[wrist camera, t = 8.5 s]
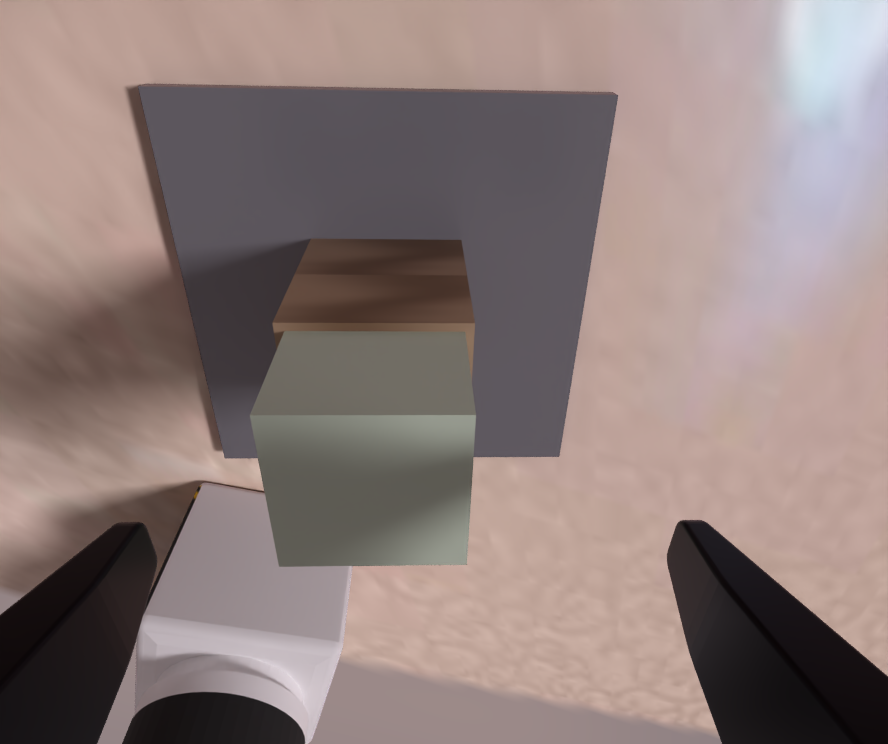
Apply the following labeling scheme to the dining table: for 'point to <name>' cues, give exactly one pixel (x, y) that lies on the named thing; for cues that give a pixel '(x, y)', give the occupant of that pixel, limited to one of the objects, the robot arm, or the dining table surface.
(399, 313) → the tower top
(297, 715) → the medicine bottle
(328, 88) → the plate
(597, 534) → the dining table surface
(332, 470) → the sage block
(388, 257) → the tower base
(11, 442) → the dining table surface
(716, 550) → the robot arm
